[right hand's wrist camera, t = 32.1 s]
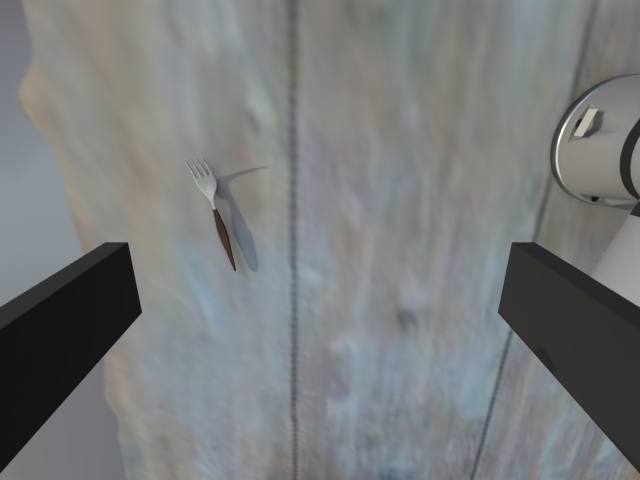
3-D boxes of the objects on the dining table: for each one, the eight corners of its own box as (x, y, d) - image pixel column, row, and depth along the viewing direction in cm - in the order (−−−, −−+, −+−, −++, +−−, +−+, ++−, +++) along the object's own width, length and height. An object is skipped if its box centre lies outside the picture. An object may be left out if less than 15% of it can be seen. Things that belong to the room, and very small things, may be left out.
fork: (227, 271, 50) (223, 277, 48) (188, 158, 44) (182, 160, 42) (245, 267, 49) (242, 273, 47) (208, 154, 44) (203, 156, 42)
